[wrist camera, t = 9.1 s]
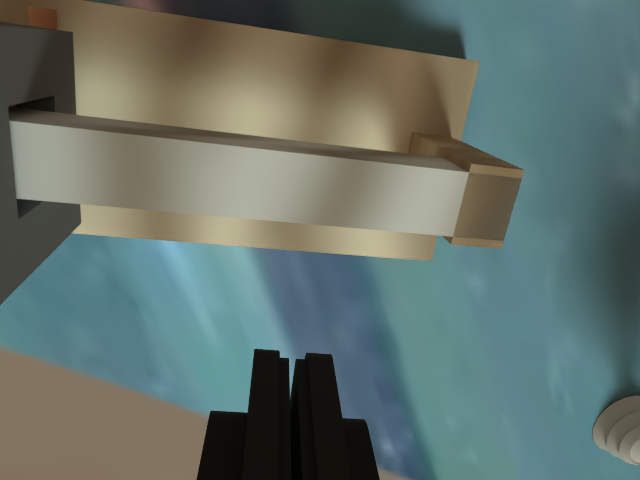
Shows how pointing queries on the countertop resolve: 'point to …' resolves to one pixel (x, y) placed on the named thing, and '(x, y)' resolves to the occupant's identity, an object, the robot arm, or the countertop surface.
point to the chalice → (620, 429)
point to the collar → (27, 93)
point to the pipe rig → (258, 138)
